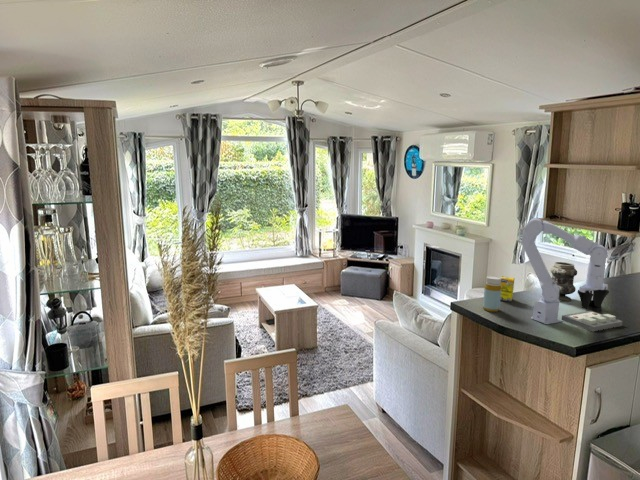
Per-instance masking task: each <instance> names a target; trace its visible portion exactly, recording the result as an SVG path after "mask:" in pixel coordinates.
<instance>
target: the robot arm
mask: <svg viewBox="0 0 640 480" xmlns="http://www.w3.org/2000/svg"><path fill="white" fill-rule="evenodd" d="M541 233H542V234H543V235H549V234H551V235H553V236H556V237H558V238H560V239H561V240H563V241H565V242H567V243H569V244H570V248H573V249H575V250H576V251H578V252H580V253H582V254H584V255H585V256H589V262H588V265H587V273H586V281H585V284H583V285H580V286H579V289H578V290H577V294H578V296H579V299H580V303H581V305H580V306H581V309H584V310H589V306H590V303H591V300H592V297H593V296H594V299H593V300H594V301H593V306H594V307H597V308H601V306H602V304H603V302H604V300H605V298H606V297H607V296H608V295H609V293H610V291H609V290H608V288H609V284H606V283H604V278H605V270H606V260H607V259H608V257H609V254H608V251H607V248H606V247H605V246H604V245H602V244H599V242H597V241H595V242H594V241H593V240H591V239H588V238H587V236H586V235H584V234H582V235H580V234H578V235H577V234H576V235H573V234H572V233H569V232H568V231H566V230H565V229H563V228H561V227H559V226H557V225H555V224H554V223H551V222H549V221H547V220H543V219H541V218H538V217H532V218H530V220H529V221H528V222H527V223H526V225H525V226H524V228H523V232H522V237H521V243H520V244H521V245H522V247H523V250H524V252H525V254H526V256H527V258H528V260H529V263H530V265H531V266H532V268H533V271H534V273H535V276H536V277H537V279H538V282H539V286H540V288H541V296H540V299H539V300H538V301H536V302H535V303H534V305H533V314H532V316H531V317H530V318H531V320H535V321H537V322H540V323H542V324H545V325H550V324H556V323H562V322H563V320H562V319H559V318H558V316H559V310H560V309H559V307H560V302H561V301H560V300H559V299H558V298H559V291H560V289H559V286H558V285H557V284H556V283H555V282H554V281H553V279H552V275H551V274H550V272H549V270H548V269H547V266H546V264H545V262H544V259H543V258H542V255H541V254H540V252H539V249H538V247H537V245H536V243H535V241H536V239H537V237H538V236H539V235H540V234H541ZM592 291H593V293H591V292H592Z"/></svg>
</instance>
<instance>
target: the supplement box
mask: <svg viewBox="0 0 640 480" xmlns="http://www.w3.org/2000/svg"><path fill="white" fill-rule="evenodd" d="M500 278H501V298H500V302H502V301H503V302H508V303H512V300H513V298H514V297H513V296H514V295H513V294H514V289H515V288H514V287H515V277H509V276H501V277H500Z"/></svg>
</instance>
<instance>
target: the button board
mask: <svg viewBox="0 0 640 480" xmlns="http://www.w3.org/2000/svg"><path fill="white" fill-rule="evenodd" d="M602 315H603V314H601V313H599V312H596V311H593V310H588V311H587V310H586V311H581V312H575V313H574V312H573V313H568V314H564V315H561V320H562V322H566V323H569V324H571V325H574V326H577V327H580V328H582V329H585V330H587V331H591V332H597V331H598V330H599V331H603V329H604V330H607V329H608V328H609V329H613V327H614V328H617V327H622V326H623V320H620V319H615V321H608V320H606V322H604V323H599V322H596V324H593V325H589V324H586V323H584V322H582V319H583V318H586V317H589V318H592V316H601V317H602ZM609 329H608V330H609Z"/></svg>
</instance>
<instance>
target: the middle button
mask: <svg viewBox="0 0 640 480" xmlns="http://www.w3.org/2000/svg"><path fill="white" fill-rule="evenodd" d="M592 319H595V320H596V322H599V323H604V322H606V318H604V317H601V316H592Z"/></svg>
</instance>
